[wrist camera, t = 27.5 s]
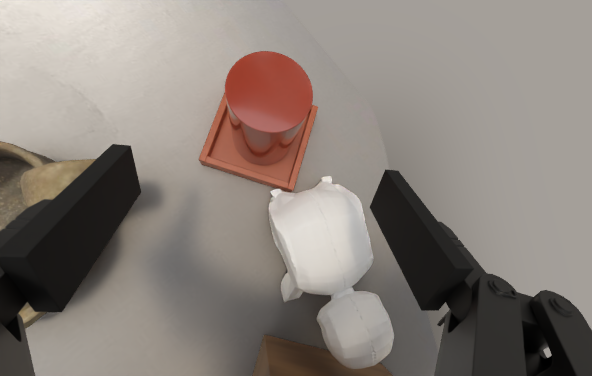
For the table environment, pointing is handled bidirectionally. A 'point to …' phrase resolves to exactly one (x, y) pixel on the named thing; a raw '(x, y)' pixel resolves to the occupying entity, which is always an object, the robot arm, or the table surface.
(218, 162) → the red tray
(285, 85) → the red cylinder
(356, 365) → the white turtle figurine
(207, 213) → the table surface
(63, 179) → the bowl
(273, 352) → the brown wooden block
